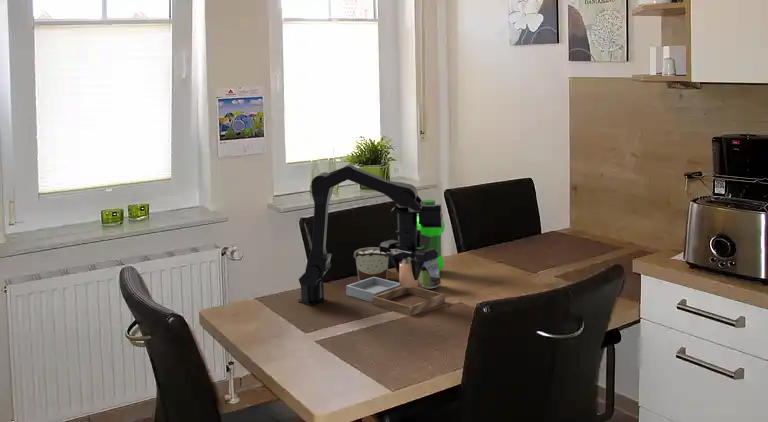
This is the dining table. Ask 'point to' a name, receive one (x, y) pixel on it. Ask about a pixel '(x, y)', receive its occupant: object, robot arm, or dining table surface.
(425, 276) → the beverage can
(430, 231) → the plastic bottle
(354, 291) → the tray
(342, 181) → the robot arm
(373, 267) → the food container
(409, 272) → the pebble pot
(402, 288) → the brown wooden tray
